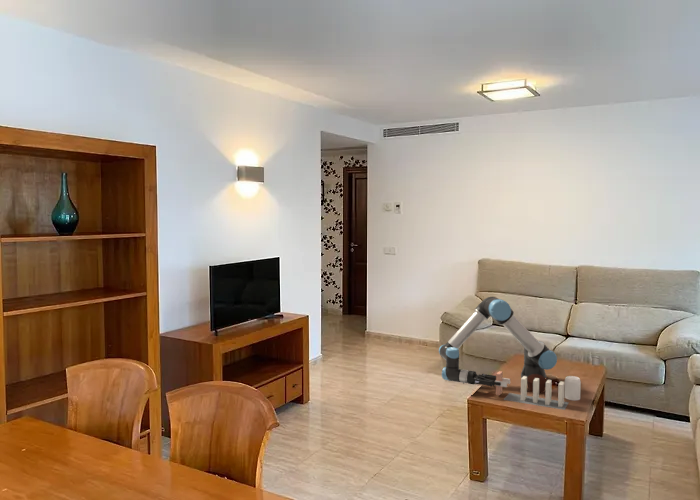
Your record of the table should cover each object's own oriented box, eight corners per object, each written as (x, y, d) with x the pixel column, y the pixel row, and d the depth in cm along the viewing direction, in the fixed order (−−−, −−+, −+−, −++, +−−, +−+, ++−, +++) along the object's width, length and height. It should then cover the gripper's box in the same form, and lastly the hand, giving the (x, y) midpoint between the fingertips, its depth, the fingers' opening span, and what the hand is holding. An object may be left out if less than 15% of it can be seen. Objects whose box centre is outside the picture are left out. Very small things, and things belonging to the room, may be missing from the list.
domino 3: (532, 402, 298) (533, 380, 297) (535, 399, 303) (535, 377, 303) (536, 402, 297) (536, 381, 296) (538, 399, 302) (539, 378, 302)
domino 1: (495, 394, 308) (496, 373, 307) (498, 391, 313) (499, 371, 312) (499, 395, 307) (499, 374, 306) (502, 392, 312) (502, 371, 311)
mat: (509, 393, 314) (509, 392, 314) (568, 403, 298) (568, 402, 298) (503, 400, 303) (503, 399, 303) (564, 410, 287) (564, 409, 287)
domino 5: (558, 406, 292) (558, 384, 291) (559, 403, 297) (560, 381, 296) (561, 407, 291) (562, 384, 290) (563, 403, 296) (564, 381, 295)
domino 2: (520, 400, 302) (520, 378, 301) (523, 397, 307) (523, 376, 306) (524, 400, 300) (524, 379, 300) (526, 397, 306) (527, 376, 305)
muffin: (548, 390, 319) (549, 373, 319) (544, 396, 310) (545, 378, 309) (527, 387, 325) (528, 370, 325) (523, 392, 316) (523, 375, 315)
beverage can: (569, 395, 311) (569, 374, 310) (583, 399, 304) (583, 378, 303) (561, 398, 306) (562, 377, 305) (575, 402, 299) (575, 381, 298)
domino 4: (545, 404, 295) (545, 382, 294) (547, 401, 300) (547, 379, 299) (549, 405, 294) (549, 383, 293) (551, 401, 299) (551, 380, 298)
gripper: (473, 379, 327) (512, 385, 315) (462, 387, 311) (503, 394, 299) (473, 366, 327) (512, 372, 315) (463, 374, 310) (504, 381, 298)
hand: (508, 383), depth 307 cm, fingers closed on domino 1, 6 cm apart
